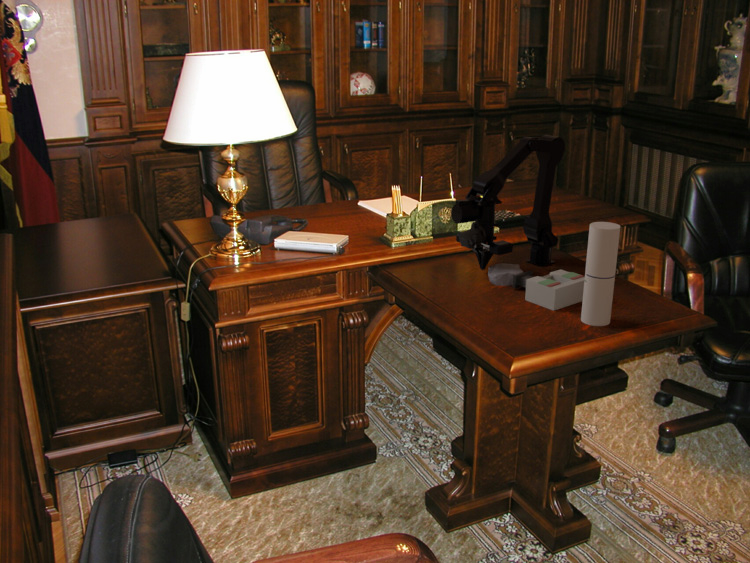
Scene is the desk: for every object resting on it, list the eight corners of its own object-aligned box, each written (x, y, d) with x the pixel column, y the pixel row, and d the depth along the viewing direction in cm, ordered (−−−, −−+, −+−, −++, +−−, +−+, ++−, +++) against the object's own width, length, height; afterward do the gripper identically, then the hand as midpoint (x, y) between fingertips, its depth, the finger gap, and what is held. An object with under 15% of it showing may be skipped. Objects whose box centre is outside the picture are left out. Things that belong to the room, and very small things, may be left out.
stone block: (492, 292, 213) (526, 285, 212) (489, 276, 211) (524, 269, 211) (486, 280, 224) (519, 273, 223) (484, 265, 223) (516, 258, 222)
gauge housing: (558, 289, 209) (560, 268, 207) (587, 299, 201) (589, 277, 199) (525, 300, 201) (526, 278, 199) (553, 310, 193) (555, 288, 191)
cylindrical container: (593, 328, 182) (603, 230, 174) (575, 318, 188) (583, 223, 180) (616, 323, 185) (626, 227, 177) (597, 313, 191) (606, 220, 183)
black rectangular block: (529, 282, 213) (530, 266, 211) (553, 291, 206) (555, 274, 204) (512, 287, 209) (513, 270, 207) (536, 296, 202) (537, 279, 200)
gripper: (443, 217, 220) (442, 266, 225) (487, 230, 206) (485, 283, 211) (470, 211, 226) (468, 260, 231) (515, 224, 212) (512, 275, 217)
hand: (482, 269), depth 222 cm, fingers closed
